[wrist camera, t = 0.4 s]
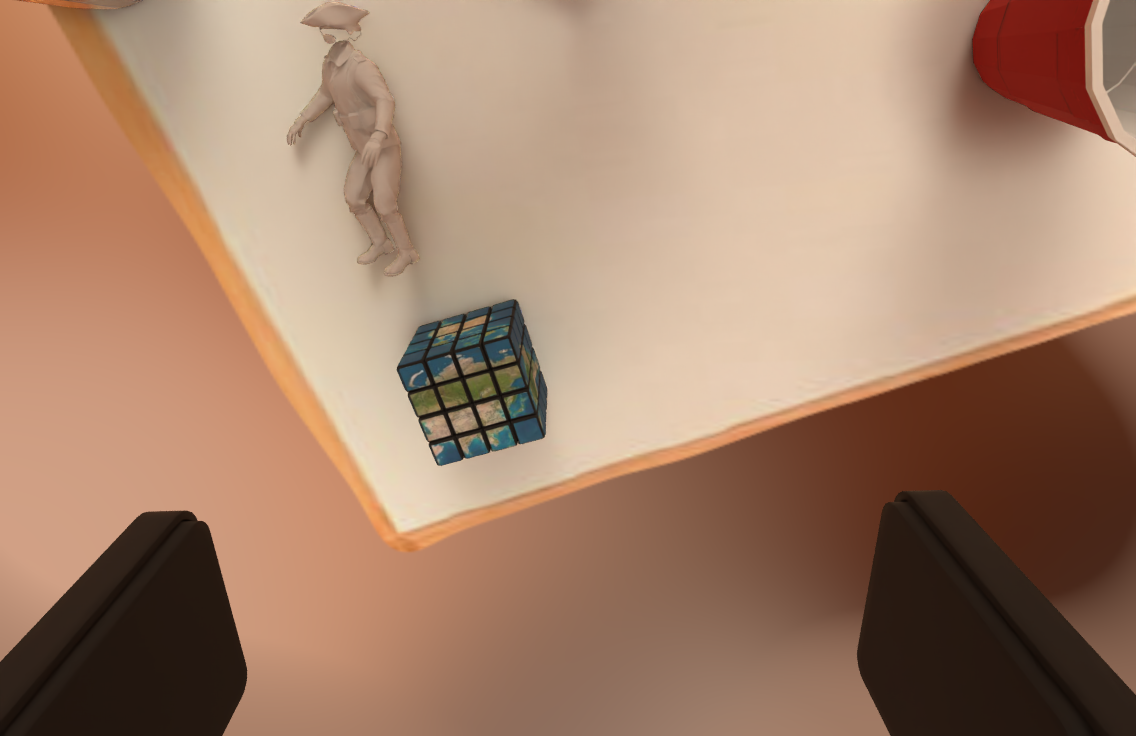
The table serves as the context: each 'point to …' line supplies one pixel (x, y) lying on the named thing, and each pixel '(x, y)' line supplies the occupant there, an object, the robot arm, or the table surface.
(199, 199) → the table surface
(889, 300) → the table surface
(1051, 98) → the plastic cup
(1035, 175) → the table surface
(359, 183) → the soldier figure
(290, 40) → the table surface
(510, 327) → the puzzle
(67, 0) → the stack lower cup
